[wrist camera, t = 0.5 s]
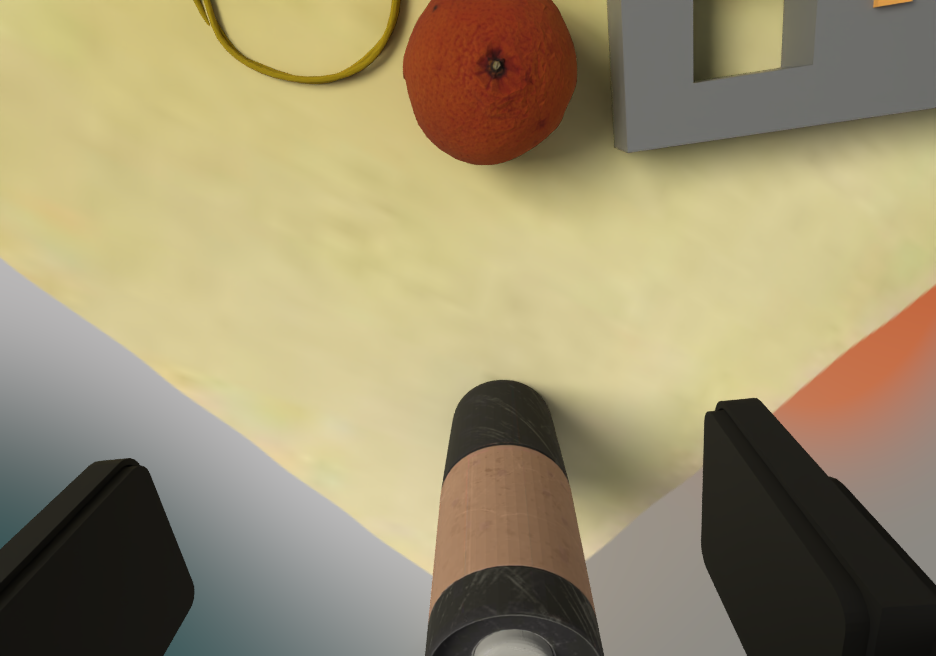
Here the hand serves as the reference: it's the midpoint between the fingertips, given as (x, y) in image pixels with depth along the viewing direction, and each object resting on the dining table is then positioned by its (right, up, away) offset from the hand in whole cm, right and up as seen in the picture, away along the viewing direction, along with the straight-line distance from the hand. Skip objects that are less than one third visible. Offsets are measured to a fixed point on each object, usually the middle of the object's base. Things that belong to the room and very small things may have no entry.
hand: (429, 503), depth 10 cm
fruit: (+2, +18, +24) cm, 30 cm away
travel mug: (+3, -4, +33) cm, 33 cm away
